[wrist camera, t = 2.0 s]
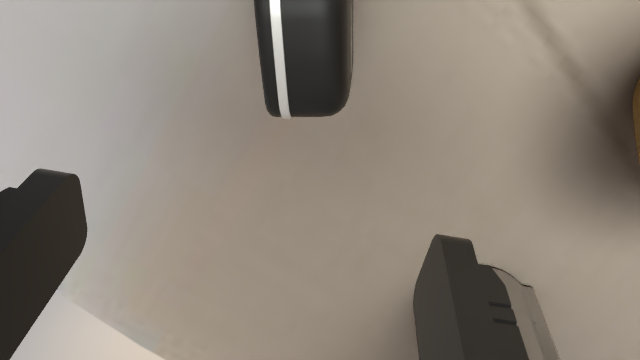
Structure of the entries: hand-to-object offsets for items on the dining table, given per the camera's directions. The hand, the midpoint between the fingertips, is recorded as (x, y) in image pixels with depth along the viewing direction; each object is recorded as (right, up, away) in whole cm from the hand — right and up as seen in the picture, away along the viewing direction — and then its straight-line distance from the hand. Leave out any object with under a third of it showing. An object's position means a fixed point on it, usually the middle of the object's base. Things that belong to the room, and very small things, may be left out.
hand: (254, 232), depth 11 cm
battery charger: (+2, +13, +18) cm, 22 cm away
